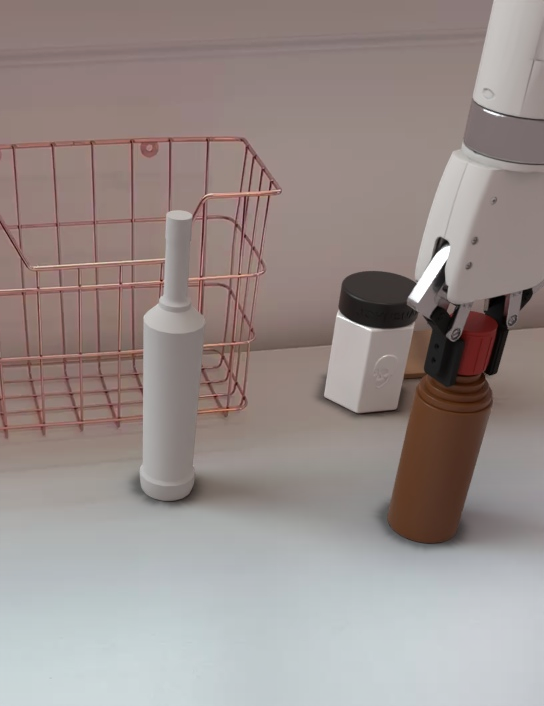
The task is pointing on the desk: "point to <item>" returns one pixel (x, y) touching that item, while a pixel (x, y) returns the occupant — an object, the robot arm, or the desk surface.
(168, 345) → the bottle
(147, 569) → the desk surface
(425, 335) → the coaster
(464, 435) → the bottle
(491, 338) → the cap
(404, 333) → the jar
